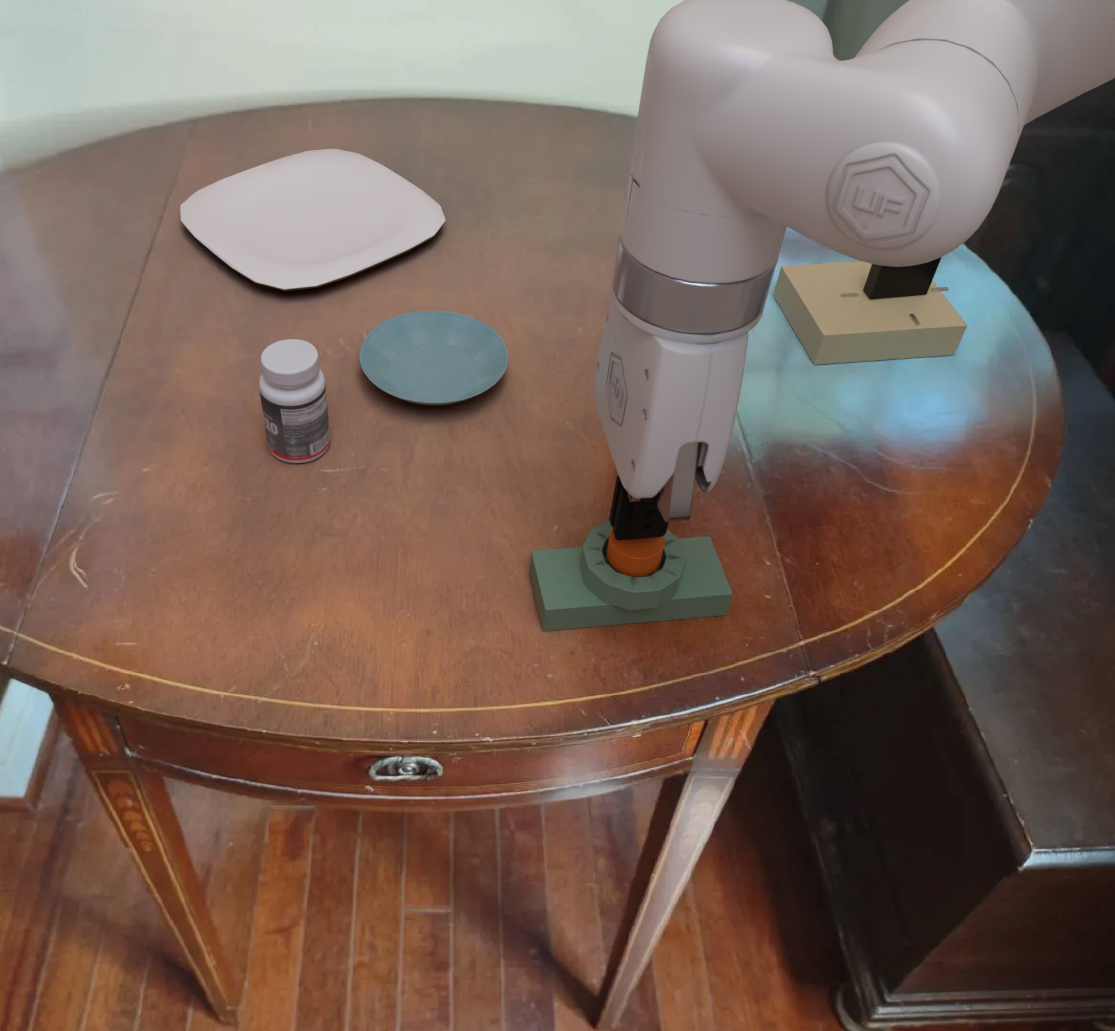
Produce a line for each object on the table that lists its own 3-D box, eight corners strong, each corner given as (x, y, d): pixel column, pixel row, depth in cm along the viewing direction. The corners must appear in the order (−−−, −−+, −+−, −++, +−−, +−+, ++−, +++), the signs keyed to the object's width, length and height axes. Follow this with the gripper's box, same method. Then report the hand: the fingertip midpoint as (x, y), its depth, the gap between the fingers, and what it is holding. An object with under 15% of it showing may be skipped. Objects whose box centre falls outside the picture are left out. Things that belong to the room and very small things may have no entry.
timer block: (701, 550, 71) (712, 509, 69) (729, 623, 67) (742, 582, 64) (527, 565, 71) (531, 524, 68) (544, 639, 66) (549, 599, 63)
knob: (919, 285, 88) (936, 240, 85) (926, 294, 87) (944, 250, 84) (862, 290, 88) (878, 245, 85) (869, 299, 87) (885, 255, 84)
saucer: (533, 363, 86) (535, 340, 84) (455, 444, 79) (455, 421, 77) (415, 316, 90) (414, 294, 89) (331, 388, 84) (329, 366, 82)
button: (652, 535, 68) (657, 516, 66) (666, 575, 65) (671, 556, 64) (601, 539, 67) (604, 520, 66) (613, 579, 65) (616, 561, 64)
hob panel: (910, 286, 93) (922, 255, 91) (961, 354, 86) (975, 323, 84) (772, 295, 92) (781, 264, 90) (813, 365, 86) (824, 333, 83)
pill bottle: (263, 429, 80) (250, 340, 74) (324, 418, 81) (316, 330, 75) (272, 470, 77) (259, 381, 71) (336, 459, 78) (328, 370, 72)
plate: (157, 217, 102) (153, 201, 101) (339, 150, 111) (338, 135, 110) (279, 320, 90) (277, 303, 89) (472, 235, 99) (472, 219, 98)
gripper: (584, 199, 56) (553, 451, 69) (655, 374, 46) (603, 630, 59) (720, 192, 57) (664, 443, 70) (821, 363, 46) (733, 619, 60)
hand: (636, 528), depth 65 cm, fingers closed
